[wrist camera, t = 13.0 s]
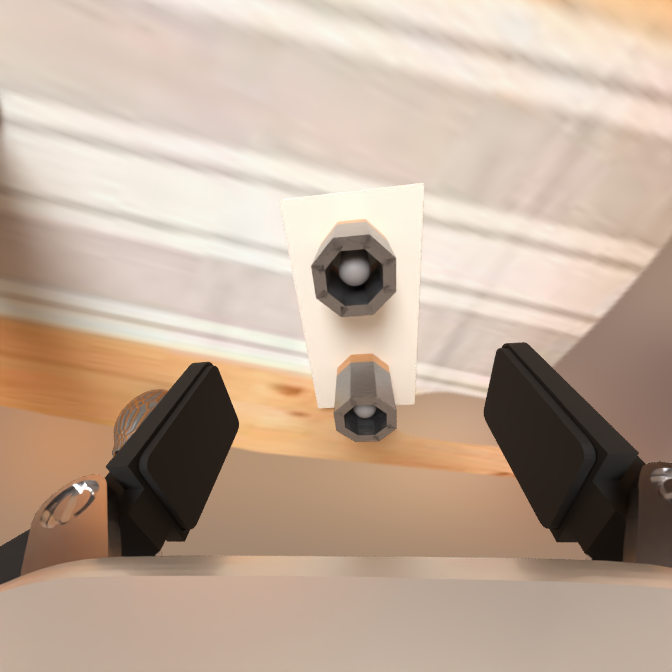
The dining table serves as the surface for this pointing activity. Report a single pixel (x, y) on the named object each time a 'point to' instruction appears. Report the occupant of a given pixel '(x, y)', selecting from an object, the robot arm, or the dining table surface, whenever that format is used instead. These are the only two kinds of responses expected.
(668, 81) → the dining table surface
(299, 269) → the pin board
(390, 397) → the seated sleeve
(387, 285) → the loose sleeve
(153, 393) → the vase
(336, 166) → the dining table surface
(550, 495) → the robot arm
